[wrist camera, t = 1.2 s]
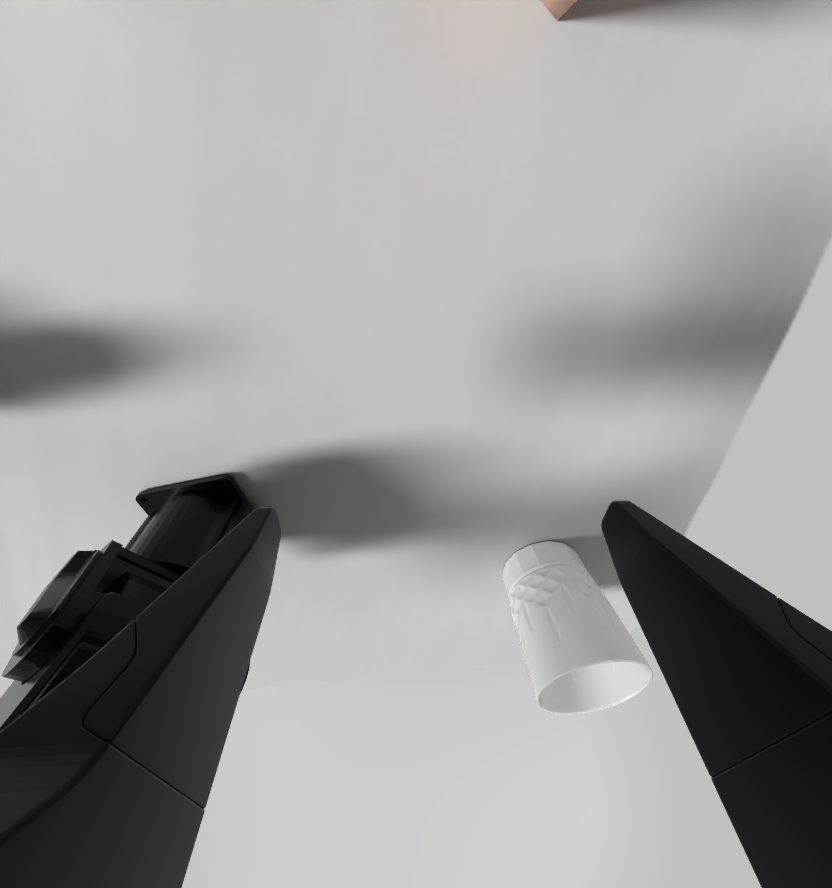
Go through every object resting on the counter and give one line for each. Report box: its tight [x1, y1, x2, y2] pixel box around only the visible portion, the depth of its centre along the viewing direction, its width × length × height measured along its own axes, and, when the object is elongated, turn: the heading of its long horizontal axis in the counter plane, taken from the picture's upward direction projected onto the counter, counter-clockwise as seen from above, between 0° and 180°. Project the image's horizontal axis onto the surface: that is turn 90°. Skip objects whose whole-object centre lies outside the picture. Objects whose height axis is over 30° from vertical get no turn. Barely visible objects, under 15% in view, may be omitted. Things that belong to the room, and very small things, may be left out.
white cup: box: [502, 541, 653, 714], centre depth 28 cm, size 8×8×10 cm
